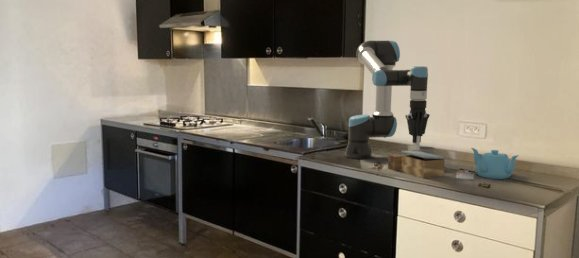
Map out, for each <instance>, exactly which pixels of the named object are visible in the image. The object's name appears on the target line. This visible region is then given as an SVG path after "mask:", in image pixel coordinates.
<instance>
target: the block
mask: <svg viewBox="0 0 579 258" xmlns="http://www.w3.org/2000/svg"><path fill="white" fill-rule="evenodd" d="M387 160H388V161H387V170H391V171H394V172H395V170H396V171H401V168H402V155H401V154H397V153H394V154H388V155H387Z"/></svg>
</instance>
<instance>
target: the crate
mask: <svg viewBox="0 0 579 258" xmlns="http://www.w3.org/2000/svg"><path fill="white" fill-rule="evenodd" d="M401 156H402V168H401V170H400V171H401V173H404V174H406V175H407V174H408V175H412V176H415V177H418V178H422V179H430V178H431V179H432V178H437V177H443V176H445V159H446V158H445V159H434V158H423V157H418V156H414V155H410V154H404V155H401Z"/></svg>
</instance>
